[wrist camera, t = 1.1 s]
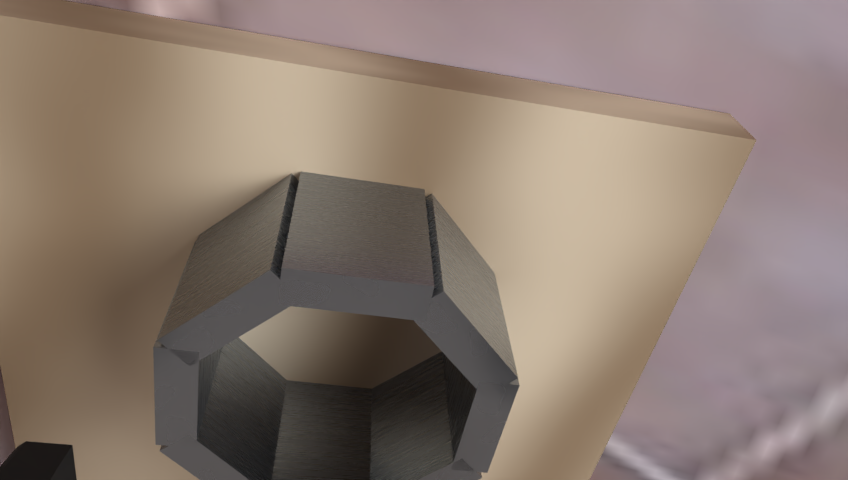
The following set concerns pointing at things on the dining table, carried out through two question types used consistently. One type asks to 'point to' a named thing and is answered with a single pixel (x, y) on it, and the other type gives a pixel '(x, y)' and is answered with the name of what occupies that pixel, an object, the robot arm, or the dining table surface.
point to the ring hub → (344, 292)
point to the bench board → (336, 156)
